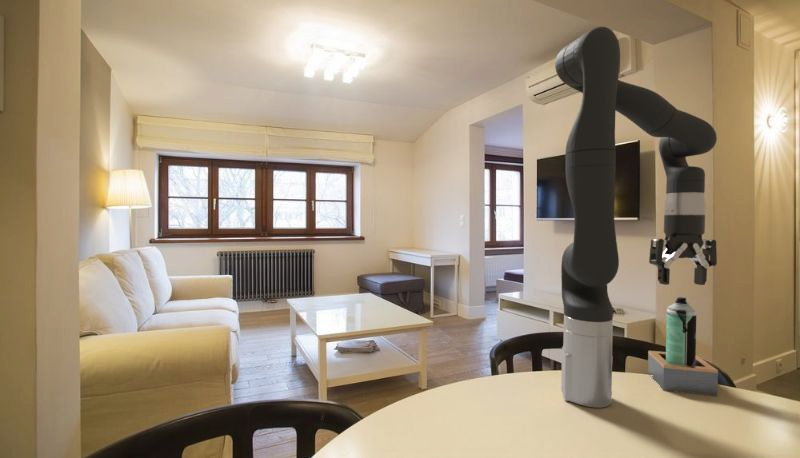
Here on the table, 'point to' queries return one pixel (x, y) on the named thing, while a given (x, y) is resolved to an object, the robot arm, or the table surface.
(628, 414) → the table surface
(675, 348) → the spray can
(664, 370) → the grey open box
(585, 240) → the robot arm
